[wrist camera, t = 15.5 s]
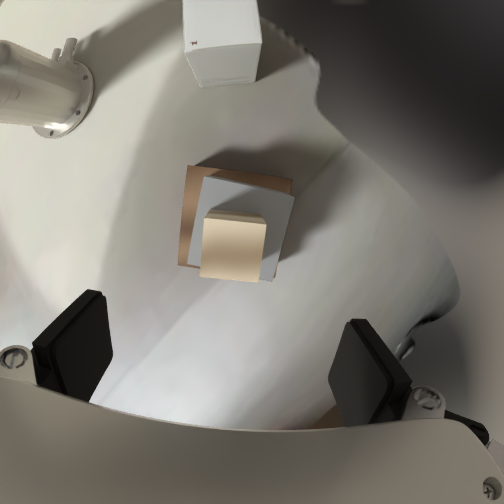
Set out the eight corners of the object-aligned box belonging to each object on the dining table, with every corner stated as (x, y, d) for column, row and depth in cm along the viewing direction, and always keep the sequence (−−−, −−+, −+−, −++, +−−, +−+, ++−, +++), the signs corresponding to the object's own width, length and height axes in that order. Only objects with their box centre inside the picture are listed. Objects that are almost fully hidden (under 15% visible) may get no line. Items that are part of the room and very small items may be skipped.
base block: (194, 165, 35) (187, 165, 31) (285, 178, 36) (292, 179, 32) (185, 253, 39) (177, 265, 34) (270, 264, 40) (274, 277, 35)
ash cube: (209, 209, 27) (204, 217, 22) (261, 214, 28) (266, 224, 23) (205, 258, 28) (199, 276, 24) (254, 263, 29) (258, 282, 24)
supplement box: (256, 83, 32) (264, 45, 20) (199, 89, 32) (181, 53, 20) (251, 38, 30) (257, -11, 18) (197, 43, 30) (180, -4, 18)
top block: (209, 175, 31) (204, 176, 26) (286, 193, 32) (295, 197, 27) (194, 250, 33) (186, 263, 29) (267, 265, 34) (272, 281, 30)
